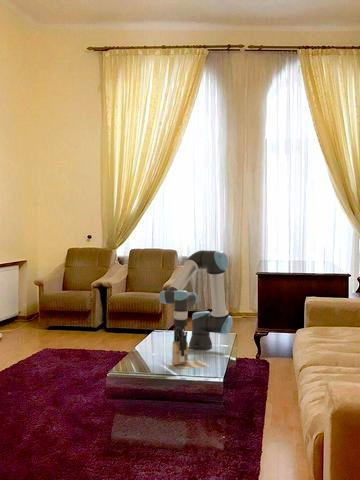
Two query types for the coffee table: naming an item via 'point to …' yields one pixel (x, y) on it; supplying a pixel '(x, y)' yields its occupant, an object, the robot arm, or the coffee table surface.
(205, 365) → the board
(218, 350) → the coffee table surface
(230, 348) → the coffee table surface
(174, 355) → the block
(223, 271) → the robot arm
